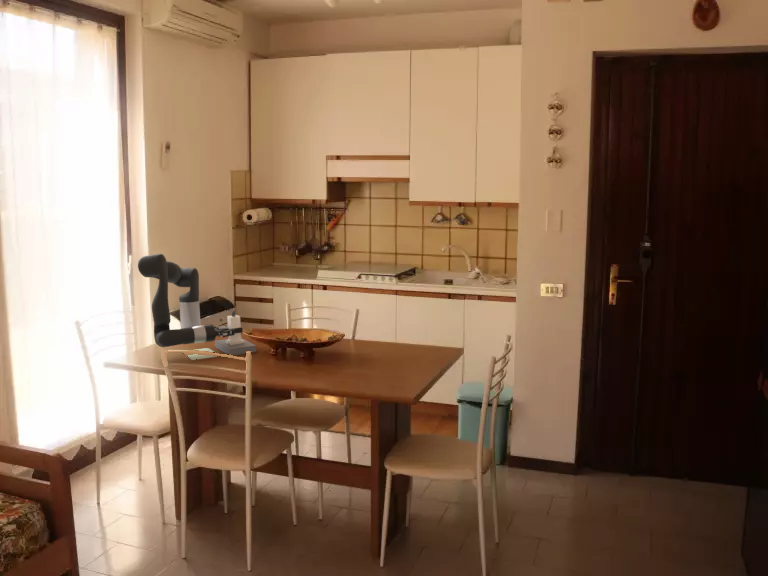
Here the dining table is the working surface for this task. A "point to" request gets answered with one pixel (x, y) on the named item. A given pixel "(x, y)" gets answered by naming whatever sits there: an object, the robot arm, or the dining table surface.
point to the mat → (196, 356)
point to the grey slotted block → (235, 347)
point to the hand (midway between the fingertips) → (240, 328)
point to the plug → (234, 323)
